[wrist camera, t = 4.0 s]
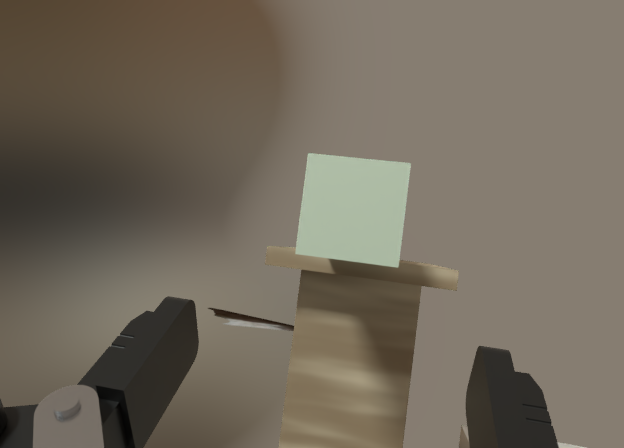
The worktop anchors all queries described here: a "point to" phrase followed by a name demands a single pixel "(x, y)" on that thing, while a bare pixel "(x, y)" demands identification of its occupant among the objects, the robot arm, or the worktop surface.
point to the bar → (353, 209)
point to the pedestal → (464, 444)
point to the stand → (352, 349)
